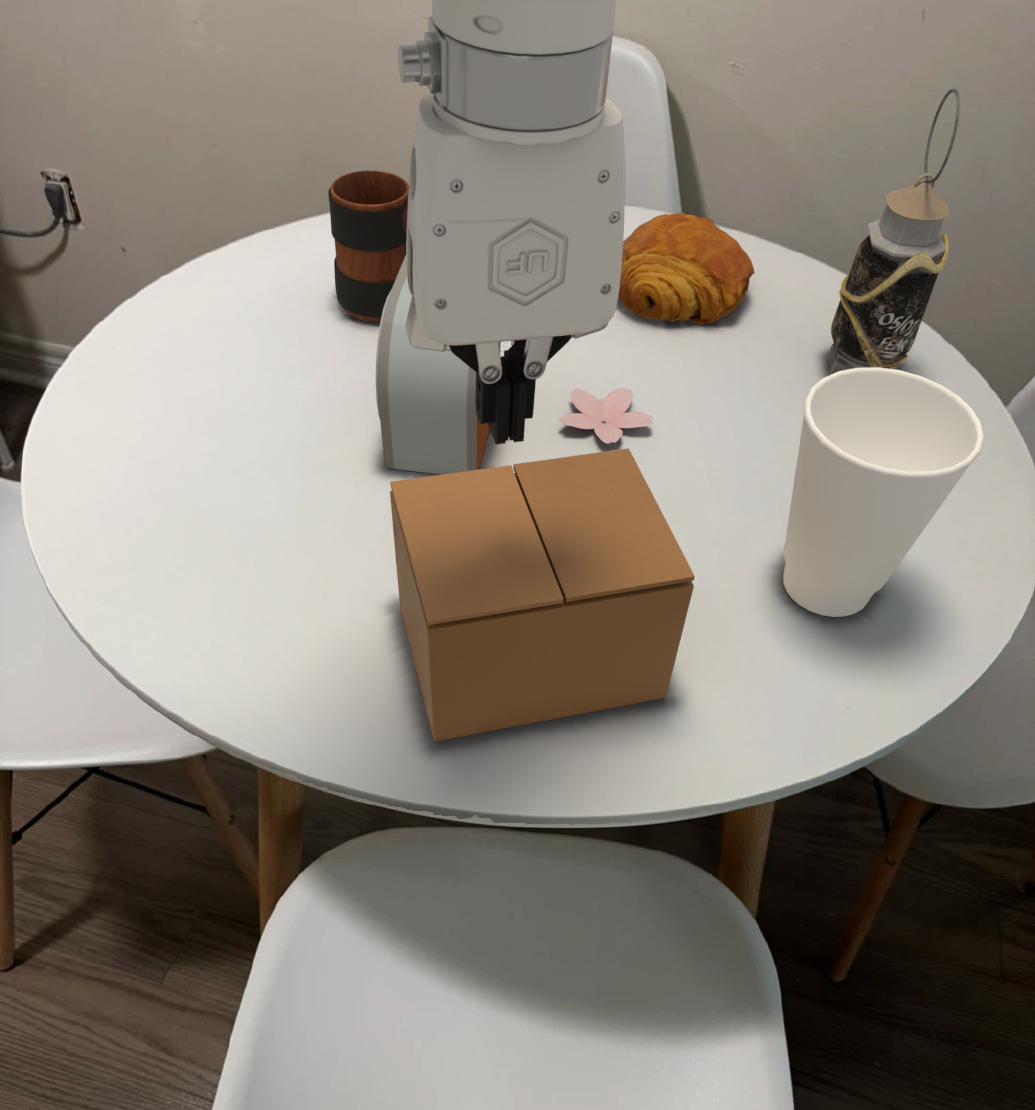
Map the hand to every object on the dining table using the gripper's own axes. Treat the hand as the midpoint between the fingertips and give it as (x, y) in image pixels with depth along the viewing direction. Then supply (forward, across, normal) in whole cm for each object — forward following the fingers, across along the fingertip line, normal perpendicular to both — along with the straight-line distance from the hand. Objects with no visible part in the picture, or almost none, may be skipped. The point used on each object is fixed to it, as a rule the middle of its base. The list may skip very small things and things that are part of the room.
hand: (503, 427), depth 56 cm
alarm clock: (+20, +2, +28) cm, 35 cm away
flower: (+20, +17, +25) cm, 36 cm away
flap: (+9, -2, 0) cm, 9 cm away
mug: (+20, +1, +48) cm, 53 cm away
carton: (+20, +3, 0) cm, 20 cm away
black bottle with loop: (+20, +44, +28) cm, 56 cm away
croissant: (+20, +32, +45) cm, 59 cm away
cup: (+20, +28, +1) cm, 34 cm away
